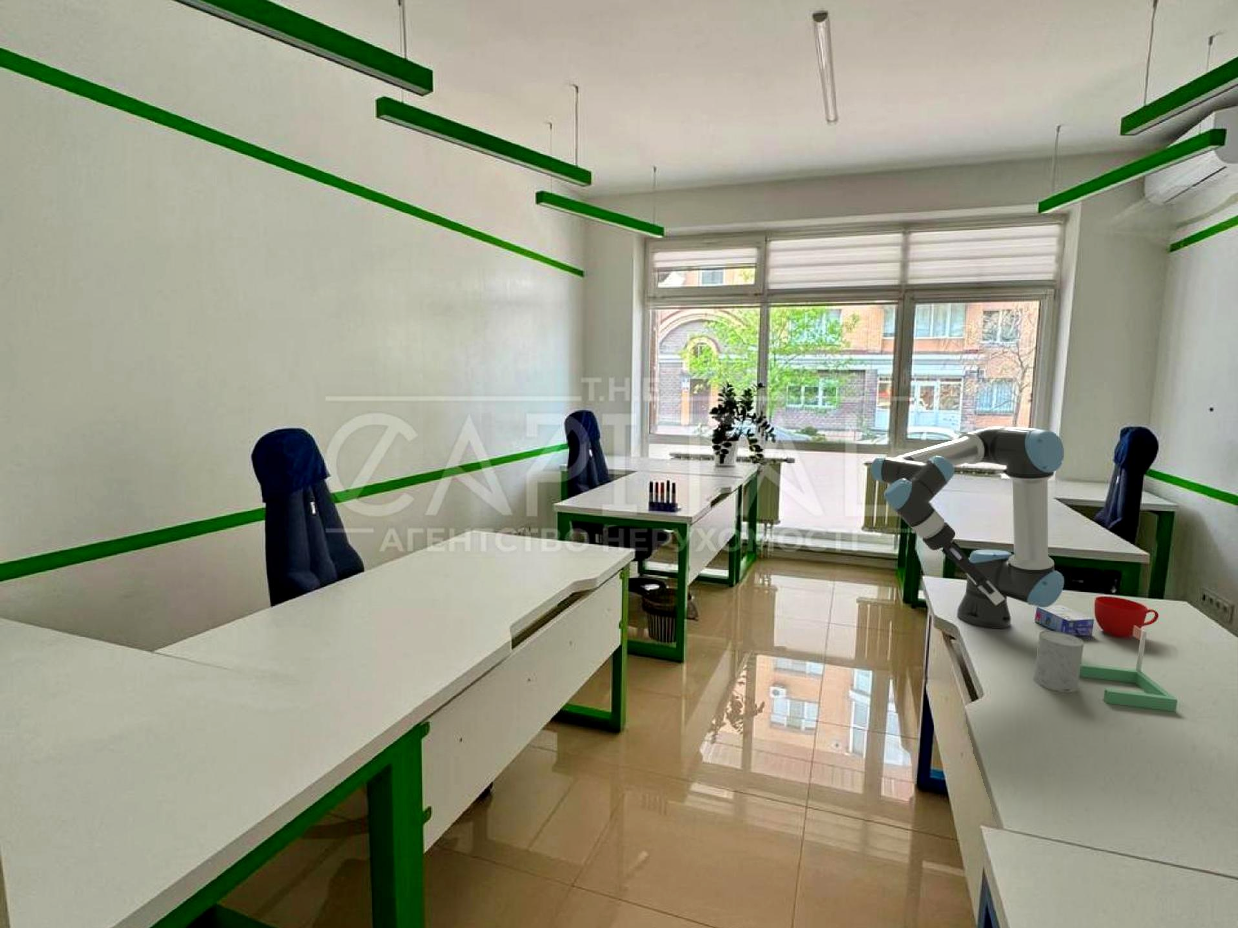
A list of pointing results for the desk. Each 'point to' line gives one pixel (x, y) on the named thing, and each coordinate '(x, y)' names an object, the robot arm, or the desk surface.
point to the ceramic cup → (1120, 616)
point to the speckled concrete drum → (1058, 661)
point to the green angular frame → (1155, 693)
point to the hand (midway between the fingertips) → (993, 595)
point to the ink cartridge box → (1064, 620)
